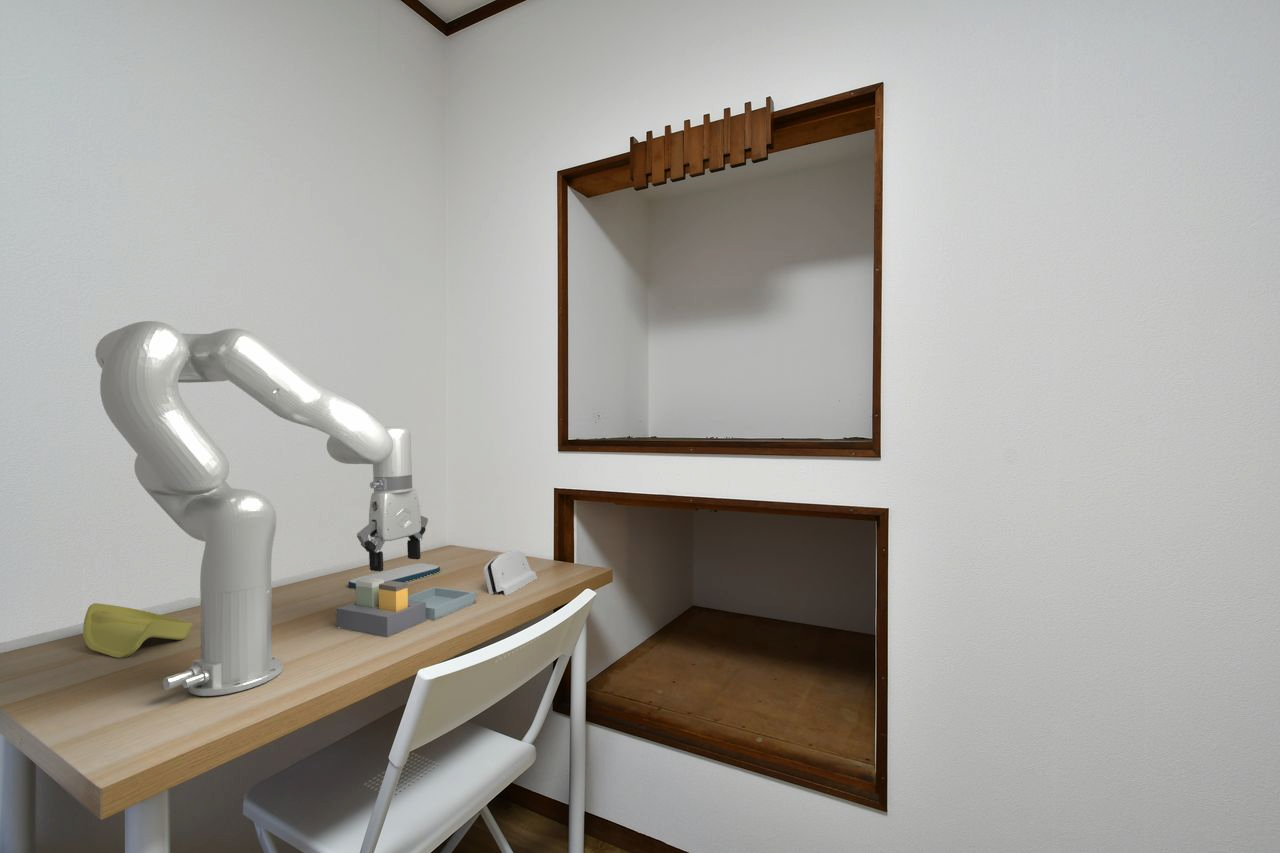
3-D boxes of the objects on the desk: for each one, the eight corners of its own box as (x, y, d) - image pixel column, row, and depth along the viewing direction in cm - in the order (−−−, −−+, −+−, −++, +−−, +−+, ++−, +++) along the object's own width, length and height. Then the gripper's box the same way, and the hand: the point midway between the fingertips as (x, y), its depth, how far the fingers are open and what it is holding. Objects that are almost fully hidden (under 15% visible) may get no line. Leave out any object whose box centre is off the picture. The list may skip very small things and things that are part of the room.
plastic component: (199, 625, 110) (147, 618, 101) (179, 663, 107) (124, 660, 98) (137, 608, 116) (84, 601, 108) (117, 644, 113) (61, 640, 105)
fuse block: (387, 637, 107) (387, 592, 107) (336, 627, 113) (336, 584, 113) (426, 620, 116) (425, 579, 116) (377, 612, 122) (376, 573, 123)
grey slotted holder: (506, 595, 134) (493, 557, 135) (490, 600, 135) (478, 562, 136) (538, 578, 150) (526, 544, 151) (524, 582, 151) (513, 548, 152)
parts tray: (434, 620, 117) (434, 608, 117) (391, 613, 122) (391, 601, 122) (475, 602, 128) (475, 592, 128) (434, 596, 134) (434, 586, 134)
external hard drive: (368, 594, 138) (368, 586, 139) (343, 588, 145) (343, 580, 145) (444, 573, 159) (444, 566, 159) (420, 568, 165) (420, 562, 165)
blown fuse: (396, 630, 111) (396, 586, 111) (379, 627, 113) (378, 584, 113) (408, 625, 114) (407, 582, 114) (391, 622, 116) (390, 580, 116)
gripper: (370, 490, 105) (373, 577, 105) (437, 480, 120) (439, 555, 120) (344, 489, 108) (347, 574, 108) (412, 479, 123) (415, 553, 124)
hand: (396, 564), depth 114 cm, fingers open, 9 cm apart
